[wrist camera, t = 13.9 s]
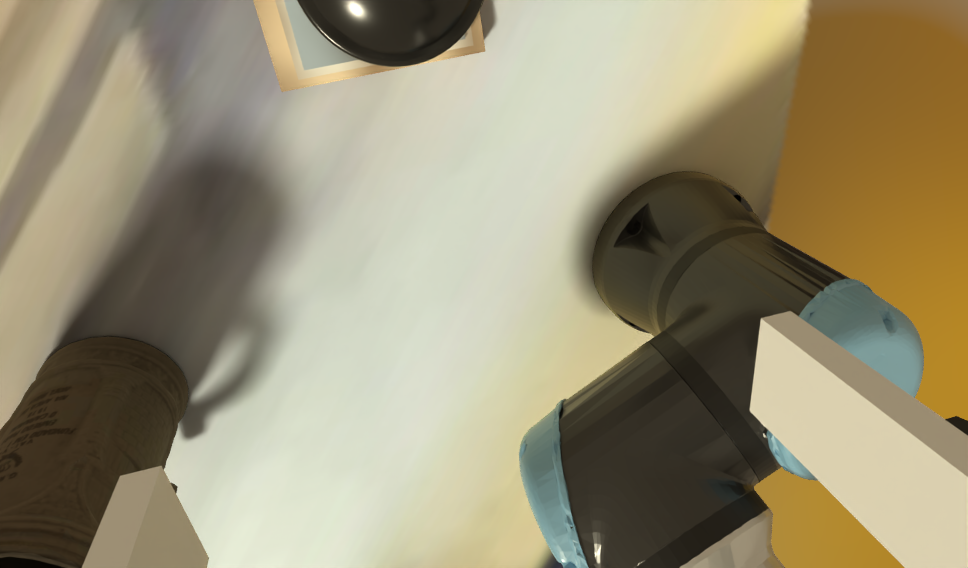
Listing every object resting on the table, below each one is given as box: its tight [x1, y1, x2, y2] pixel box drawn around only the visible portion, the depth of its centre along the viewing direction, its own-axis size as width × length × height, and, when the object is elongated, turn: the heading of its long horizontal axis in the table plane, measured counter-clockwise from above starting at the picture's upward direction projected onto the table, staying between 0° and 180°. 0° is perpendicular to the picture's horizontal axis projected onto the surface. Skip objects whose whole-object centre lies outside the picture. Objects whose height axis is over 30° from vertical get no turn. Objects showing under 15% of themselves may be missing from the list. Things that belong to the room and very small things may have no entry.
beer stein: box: [0, 337, 188, 568], centre depth 41 cm, size 15×11×20 cm
